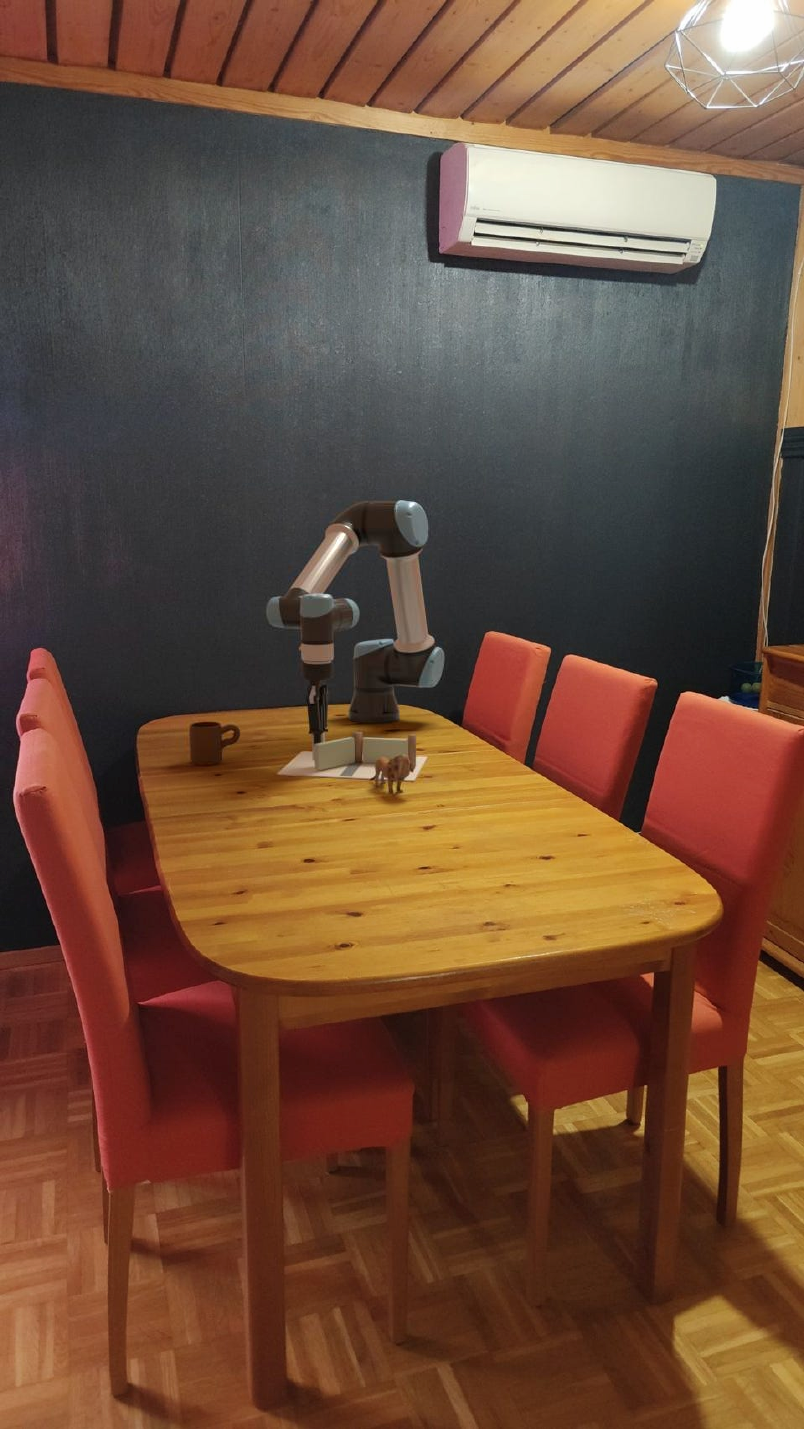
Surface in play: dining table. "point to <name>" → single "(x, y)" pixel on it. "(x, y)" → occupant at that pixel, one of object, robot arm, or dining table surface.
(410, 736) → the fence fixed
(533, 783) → the dining table surface
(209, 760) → the mug
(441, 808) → the dining table surface
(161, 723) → the dining table surface
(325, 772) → the card
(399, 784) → the lion figurine
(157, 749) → the dining table surface
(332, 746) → the fence panel
